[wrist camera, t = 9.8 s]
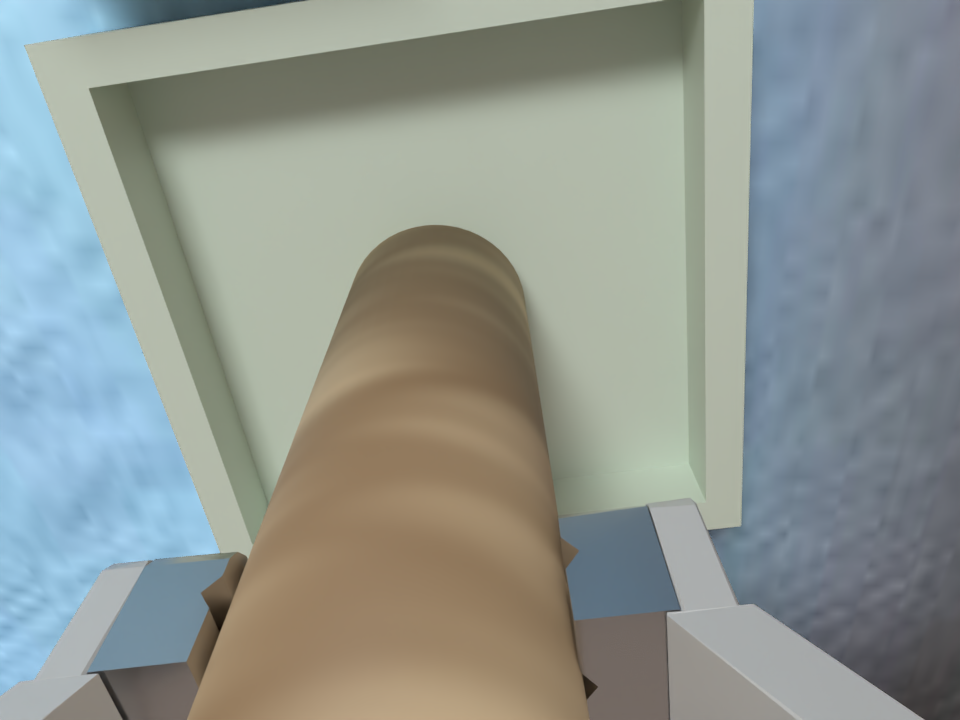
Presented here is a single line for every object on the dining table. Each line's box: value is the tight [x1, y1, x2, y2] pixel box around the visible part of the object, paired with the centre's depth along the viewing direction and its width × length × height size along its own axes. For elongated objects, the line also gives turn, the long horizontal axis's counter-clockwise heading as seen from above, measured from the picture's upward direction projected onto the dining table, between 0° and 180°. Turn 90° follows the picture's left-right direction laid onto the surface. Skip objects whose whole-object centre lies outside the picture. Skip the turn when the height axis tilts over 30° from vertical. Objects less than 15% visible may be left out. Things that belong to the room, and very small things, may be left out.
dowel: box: [187, 225, 590, 720], centre depth 10 cm, size 4×4×12 cm
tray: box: [24, 0, 754, 558], centre depth 16 cm, size 12×12×2 cm
